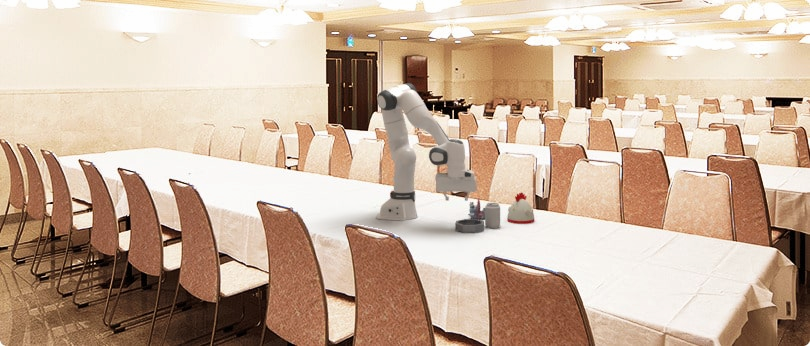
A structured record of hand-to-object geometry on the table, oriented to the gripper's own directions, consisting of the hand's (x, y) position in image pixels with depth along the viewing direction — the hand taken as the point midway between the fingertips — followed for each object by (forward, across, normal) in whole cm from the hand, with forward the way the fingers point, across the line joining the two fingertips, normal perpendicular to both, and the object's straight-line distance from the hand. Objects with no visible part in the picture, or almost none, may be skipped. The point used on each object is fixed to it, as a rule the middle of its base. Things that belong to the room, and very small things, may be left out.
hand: (456, 200), depth 322 cm
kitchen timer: (+15, +31, +21) cm, 41 cm away
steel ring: (+15, +6, 0) cm, 16 cm away
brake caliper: (+15, +8, +26) cm, 31 cm away
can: (+15, +17, +7) cm, 24 cm away
